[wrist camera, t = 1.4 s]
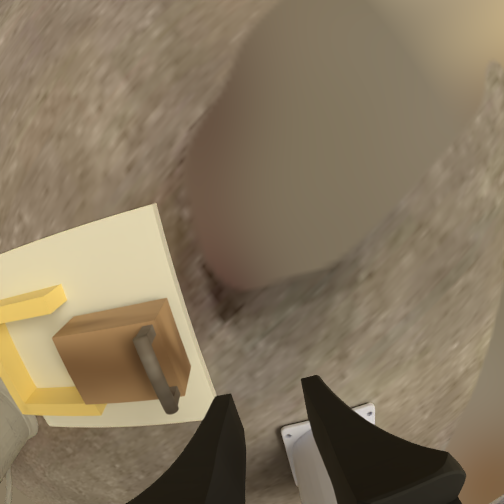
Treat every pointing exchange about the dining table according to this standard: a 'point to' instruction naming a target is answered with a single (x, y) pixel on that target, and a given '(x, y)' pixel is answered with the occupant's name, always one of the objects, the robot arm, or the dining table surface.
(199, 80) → the dining table surface
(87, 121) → the dining table surface
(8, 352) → the dock
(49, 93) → the dining table surface
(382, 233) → the dining table surface
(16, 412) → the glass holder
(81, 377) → the wooden block with handle
